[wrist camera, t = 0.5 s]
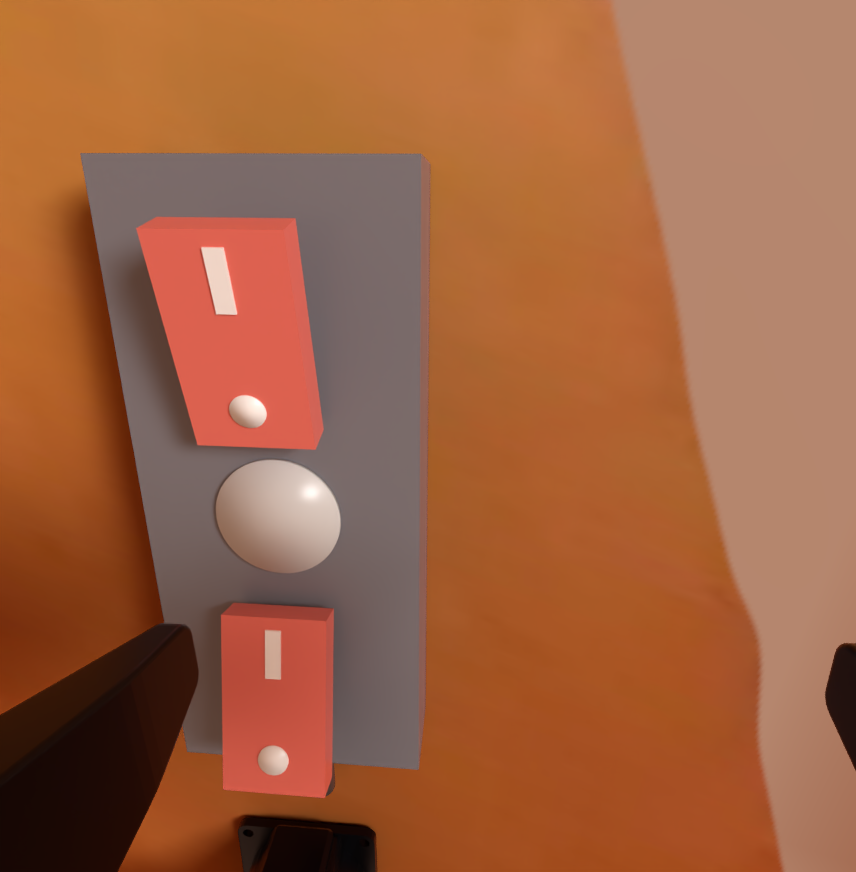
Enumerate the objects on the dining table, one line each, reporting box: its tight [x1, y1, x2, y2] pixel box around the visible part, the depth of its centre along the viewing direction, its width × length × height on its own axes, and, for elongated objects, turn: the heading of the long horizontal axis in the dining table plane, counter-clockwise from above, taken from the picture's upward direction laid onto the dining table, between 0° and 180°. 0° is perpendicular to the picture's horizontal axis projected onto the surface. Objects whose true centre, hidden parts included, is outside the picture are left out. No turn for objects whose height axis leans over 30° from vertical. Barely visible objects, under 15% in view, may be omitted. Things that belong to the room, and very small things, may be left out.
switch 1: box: [136, 217, 324, 450], centre depth 15 cm, size 6×3×1 cm, turn 0°
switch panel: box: [80, 153, 430, 798], centre depth 21 cm, size 25×9×4 cm, turn 0°
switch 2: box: [221, 603, 334, 798], centre depth 19 cm, size 6×3×1 cm, turn 179°
